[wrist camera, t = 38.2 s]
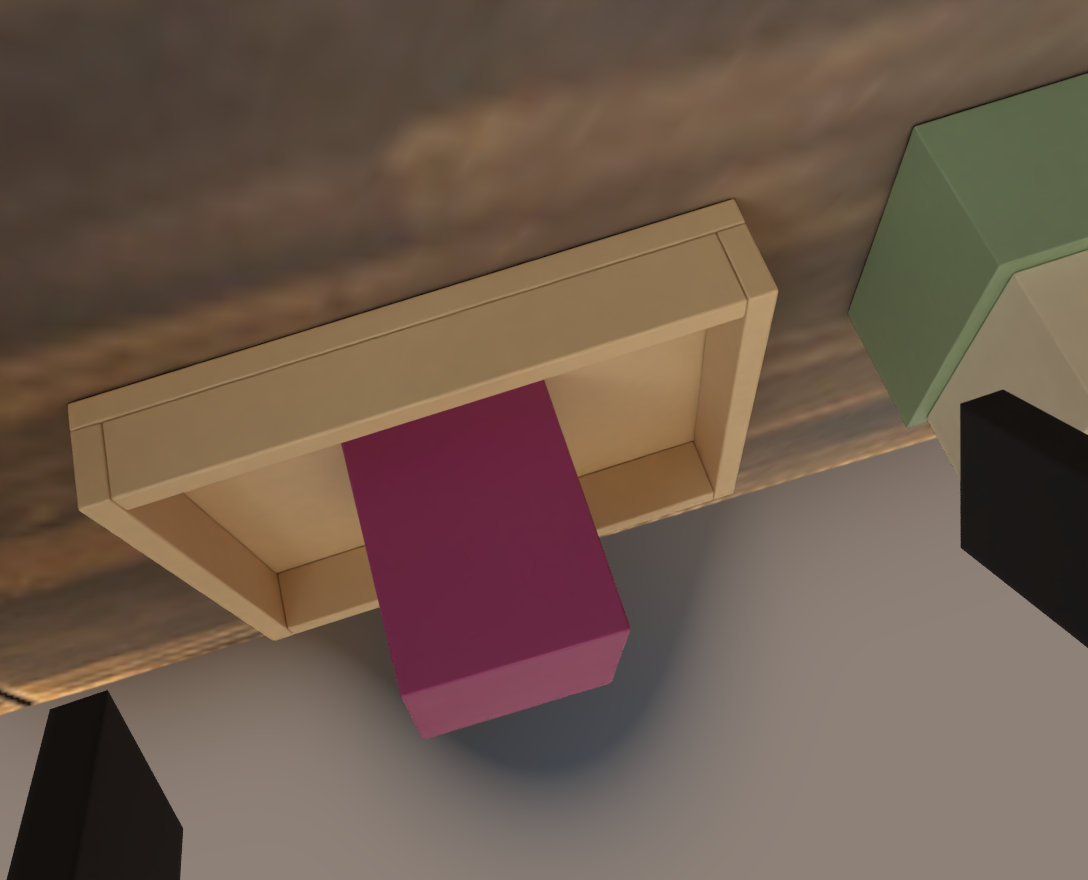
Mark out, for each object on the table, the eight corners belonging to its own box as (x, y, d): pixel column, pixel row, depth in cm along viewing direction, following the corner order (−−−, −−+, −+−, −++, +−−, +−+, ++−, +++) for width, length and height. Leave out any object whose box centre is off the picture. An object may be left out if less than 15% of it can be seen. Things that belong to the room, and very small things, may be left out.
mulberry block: (365, 503, 33) (422, 740, 30) (335, 420, 28) (400, 698, 24) (537, 457, 34) (612, 683, 30) (540, 368, 28) (631, 630, 25)
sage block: (846, 314, 33) (906, 429, 31) (913, 125, 25) (999, 266, 23) (1097, 235, 33) (1171, 344, 32) (1244, 23, 25) (1355, 154, 23)
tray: (259, 565, 37) (273, 641, 36) (66, 403, 25) (77, 510, 23) (704, 424, 38) (733, 494, 36) (734, 197, 25) (780, 290, 24)
